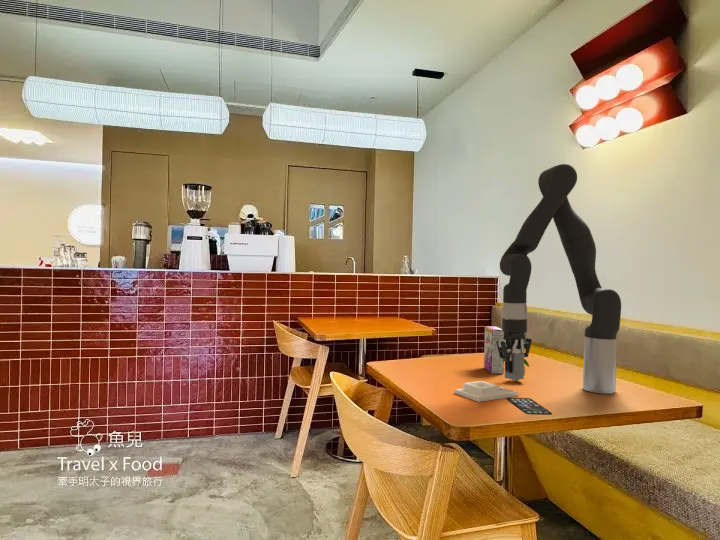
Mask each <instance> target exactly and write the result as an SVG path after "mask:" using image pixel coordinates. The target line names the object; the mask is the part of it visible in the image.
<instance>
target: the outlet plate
mask: <svg viewBox="0 0 720 540" xmlns="http://www.w3.org/2000/svg"><path fill="white" fill-rule="evenodd" d="M454 394H456V395H459V396H460V397H461V396H462V397H463V398H467V399H470V400H472V401H476V402H477V403H479V402H486V401H493V400H494V401H495V400H500V399H507V398H515V397H518V394H519V392H518V391H515V390H512V389H510V388H509V389H508V388H506V387H502V386H500V385H497V384H493V383H490V382H487V381H483V380H477V381H472V382H471V381H470V382H463V388H458V389H457V388H455V389H454Z"/></svg>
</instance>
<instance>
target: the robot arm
mask: <svg viewBox="0 0 720 540" xmlns="http://www.w3.org/2000/svg"><path fill="white" fill-rule="evenodd" d="M577 182H578V174H577V171H576V169H575V168H574V167H573V165H571V164H568V163H559V164H557V165H554V166H551V167H549V168H547V169H545V170H543V171H542V172H541V173H540V174H539V176H538V183H537V185H538V188H539V190H540V194H541V196H542V198H541V200H540V201H539V202H538V204H537V205H536V207H534V209H533V210H531V213H530V214H529V215H528V216H527V217H526V219H525V220H524V222H523V223H522V225H521V227H520V229H519V231H518V233H517V235H516V237H515V240H513V242H511V244H510V245H509V246H508V248H507V249H506V251H505V252H504V253H503V255H502V256H501V258H500V260H499V270H500V272H501V273H502V274H503V275H505V276H507V277H509V282H508V283H507V284H505V285H504V286H503V290H502V296H503V297H502V298H503V299H502V301H503V302H502V309H501V329H502V331H503V332H504V337H503V339H502V340H501V341H499V340H497V342H496V343H497V347H498V352H499V356H500V358H502V359H504V360H505V361H504V372H505V371H506V372H508V373H512V372H513V361H512V359H513V354H515V350H520V351H521V353H524V359H525V358H528V357H529V354H530V350H531V345H532V342H533V340H532V338H528V337H526V335H525V334H526V333H528V306H527V305H528V304H527V289H528V286H529V282H530V280H531V279H530V278H531V275H532V261H531V259H530V258H529V256H528V255H529V254H530V253H533V252H534V251H536V249H537V248H538V246H539V244H540V242H541V240H542V238H543V237H544V234H545V232H546V230H547V229H548V226H549V225H550V223H551V221H552V219H553V222H554V225H555V228H556V230H557V233H558V235H559V239H560V241H561V244H562V247H563V249H564V250H563V251H564V252H565V256H566V258H567V259H568V263H569V266H570V269H571V272H572V274H573V277H574V281H575V284H576V287H577V288H576V289H577V294H578V296H579V301H580V304H581V307H582V309H583V310H584V311H585V312H586V313H587V314H589V315H591V316H592V318H591V323H590V324H589V325H588V326H586V327H585V328H584V336H583V337H584V338H583V339H584V342H583V344H584V345H583V371H582V372H583V374H582V389H583V390H584V391H587V392H591V393H596V394H603V395H609V394H610V395H612V394H615V392H616V389H617V361H616V360H617V359H616V358H617V356H616V355H617V353H616V352H617V335H618V332H619V330H620V327H621V326H620V325H621V317H622V316H621V315H622V300H621V297H620V295H619V293H618V292H617V291H616V290H614V289H611V288H607V287H606V288H603V287H602V285H601V284H600V280H599V279H598V276H597V270H596V258H597V247H596V244H595V240H594V237H593V234H592V231H591V229H590V227H589V226H588V224H587V223H586V221H584V219H583V218H582V217H581V216H580V215H579V214H578V213H577V212H576V210H574V208H573V207H572V205H571V203H570V201H569V199H568V196H569V195H570V193H571V192H572V190H574V187H575V186H576V184H577ZM510 350H511V351H510ZM503 353H504V355H503ZM508 353H510V354H509V356H508Z"/></svg>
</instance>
